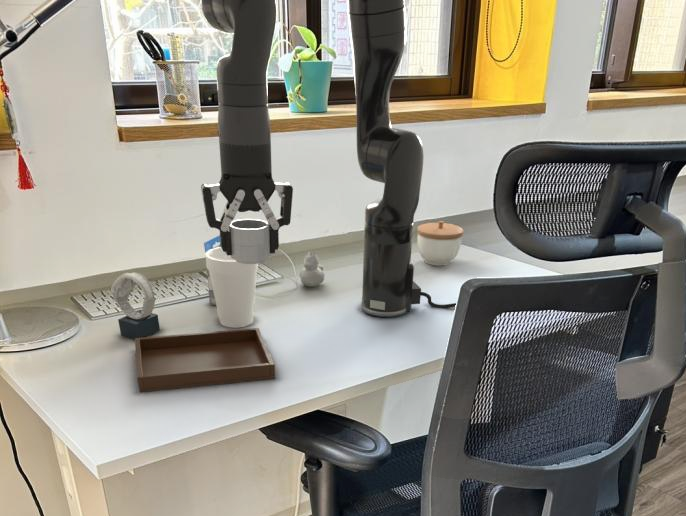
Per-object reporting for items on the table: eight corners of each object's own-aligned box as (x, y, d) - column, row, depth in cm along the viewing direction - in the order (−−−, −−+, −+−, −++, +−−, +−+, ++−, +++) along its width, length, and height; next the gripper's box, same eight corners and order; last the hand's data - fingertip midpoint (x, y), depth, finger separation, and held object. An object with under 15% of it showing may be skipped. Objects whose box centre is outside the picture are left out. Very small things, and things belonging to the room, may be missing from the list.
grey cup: (266, 252, 117) (265, 218, 114) (273, 264, 112) (272, 228, 109) (228, 254, 115) (226, 219, 112) (234, 266, 110) (231, 230, 107)
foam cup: (251, 333, 132) (247, 263, 124) (204, 327, 133) (197, 258, 126) (267, 314, 139) (263, 248, 132) (222, 309, 141) (216, 243, 133)
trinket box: (408, 256, 173) (411, 216, 167) (448, 253, 176) (452, 214, 170) (424, 270, 164) (428, 229, 159) (466, 267, 167) (471, 226, 162)
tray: (259, 341, 129) (258, 327, 127) (275, 378, 117) (274, 364, 115) (136, 351, 124) (134, 337, 122) (139, 392, 111) (137, 377, 110)
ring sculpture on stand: (134, 323, 134) (125, 265, 127) (167, 332, 131) (159, 274, 124) (112, 333, 130) (101, 274, 123) (145, 343, 127) (136, 283, 120)
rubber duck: (293, 286, 153) (292, 249, 148) (311, 278, 158) (311, 242, 153) (313, 291, 151) (313, 254, 146) (331, 283, 155) (331, 246, 151)
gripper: (197, 143, 99) (207, 262, 108) (298, 142, 102) (299, 258, 112) (192, 134, 105) (202, 248, 114) (287, 134, 108) (289, 244, 118)
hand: (250, 252), depth 113 cm, fingers closed on grey cup, 6 cm apart
